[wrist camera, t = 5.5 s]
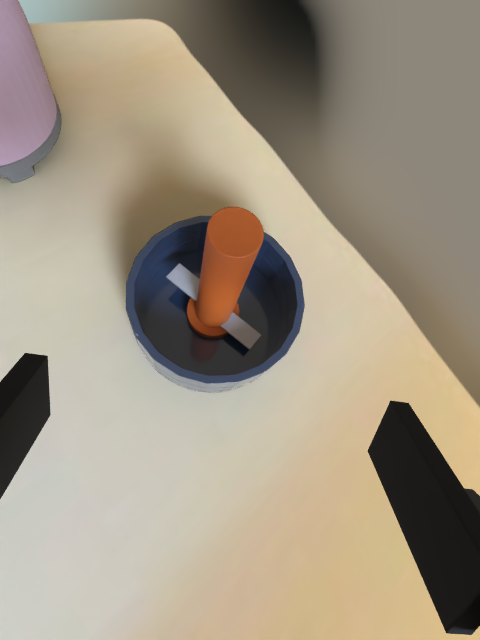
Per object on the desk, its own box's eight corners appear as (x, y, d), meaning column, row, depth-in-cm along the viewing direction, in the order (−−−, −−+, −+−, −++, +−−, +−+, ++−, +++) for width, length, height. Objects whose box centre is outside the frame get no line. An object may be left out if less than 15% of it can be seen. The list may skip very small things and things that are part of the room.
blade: (156, 300, 33) (142, 207, 20) (189, 265, 34) (197, 156, 21) (236, 365, 32) (278, 314, 19) (267, 327, 34) (325, 254, 20)
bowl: (114, 271, 34) (102, 241, 28) (251, 232, 37) (263, 198, 32) (163, 416, 31) (161, 412, 26) (308, 360, 34) (331, 345, 29)
